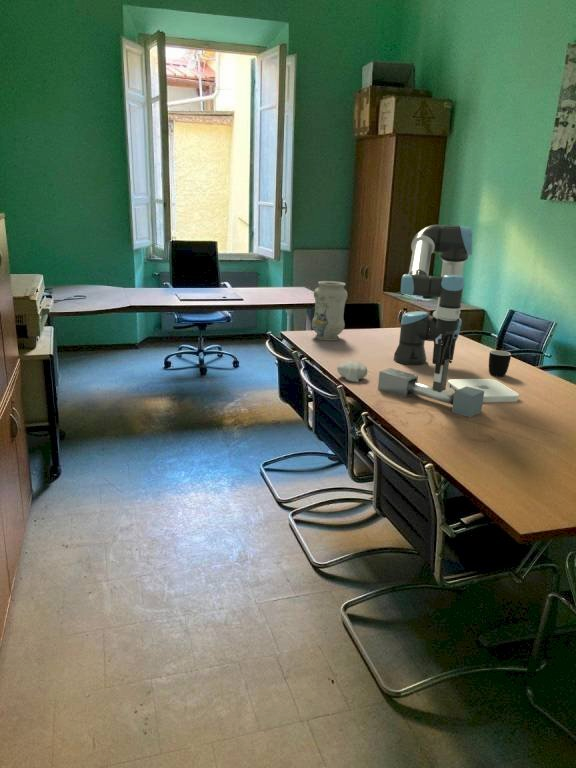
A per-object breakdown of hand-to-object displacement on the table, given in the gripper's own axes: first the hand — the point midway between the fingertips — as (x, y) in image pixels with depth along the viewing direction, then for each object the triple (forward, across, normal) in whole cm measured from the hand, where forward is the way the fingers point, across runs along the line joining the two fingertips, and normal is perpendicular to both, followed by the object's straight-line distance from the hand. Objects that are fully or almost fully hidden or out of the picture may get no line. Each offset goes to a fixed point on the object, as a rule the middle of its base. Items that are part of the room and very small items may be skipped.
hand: (440, 380), depth 214 cm
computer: (+10, +26, -5) cm, 28 cm away
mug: (+9, +57, +3) cm, 58 cm away
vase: (+9, +48, +94) cm, 105 cm away
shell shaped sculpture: (+9, 0, +41) cm, 42 cm away
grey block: (+9, 0, -12) cm, 15 cm away
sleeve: (+9, 0, +18) cm, 20 cm away
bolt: (+8, 0, +5) cm, 9 cm away
